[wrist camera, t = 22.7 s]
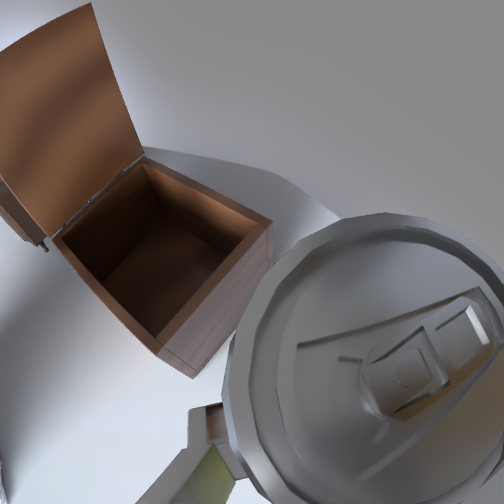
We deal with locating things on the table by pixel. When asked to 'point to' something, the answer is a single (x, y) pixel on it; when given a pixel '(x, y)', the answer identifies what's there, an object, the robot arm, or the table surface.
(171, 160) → the table surface
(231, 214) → the chest
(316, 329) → the beer can
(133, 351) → the table surface
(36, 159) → the lid
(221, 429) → the robot arm
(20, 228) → the alarm clock
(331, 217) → the table surface
